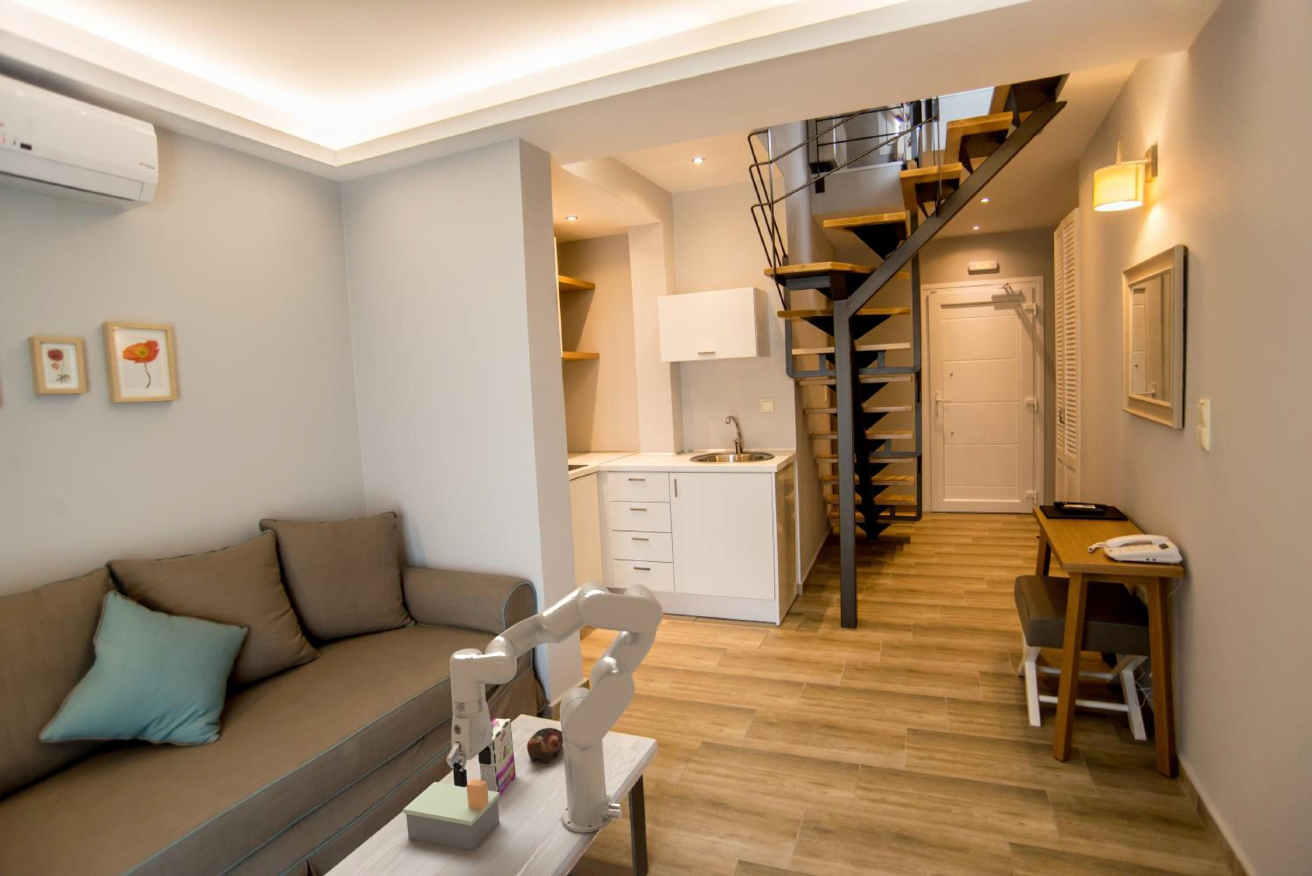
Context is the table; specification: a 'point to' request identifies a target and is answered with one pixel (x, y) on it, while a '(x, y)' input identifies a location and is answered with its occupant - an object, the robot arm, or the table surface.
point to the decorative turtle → (545, 744)
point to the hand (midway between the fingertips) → (473, 774)
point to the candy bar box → (500, 758)
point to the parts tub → (453, 829)
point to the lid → (453, 802)
